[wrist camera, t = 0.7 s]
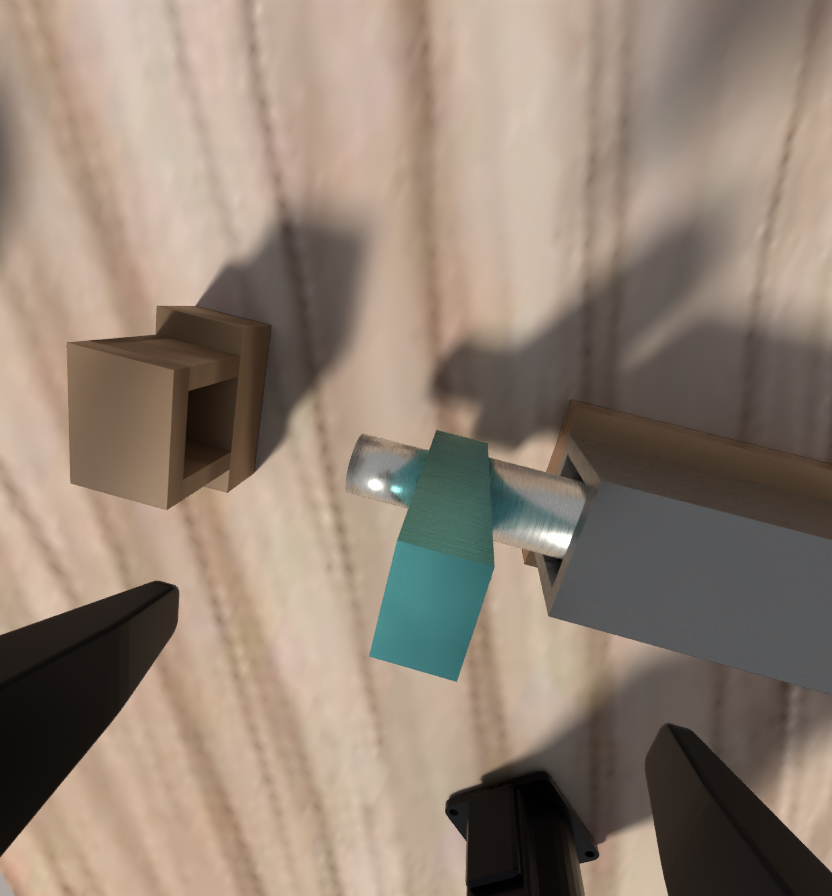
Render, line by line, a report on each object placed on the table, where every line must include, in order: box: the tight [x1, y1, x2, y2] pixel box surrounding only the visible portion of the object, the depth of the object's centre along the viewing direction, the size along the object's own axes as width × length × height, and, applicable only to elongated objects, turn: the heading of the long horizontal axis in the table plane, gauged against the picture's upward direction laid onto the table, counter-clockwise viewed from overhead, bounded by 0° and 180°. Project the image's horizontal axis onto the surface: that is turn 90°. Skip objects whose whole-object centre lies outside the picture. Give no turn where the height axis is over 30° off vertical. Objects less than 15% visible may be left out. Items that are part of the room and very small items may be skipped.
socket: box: [67, 306, 271, 510], centre depth 17 cm, size 4×7×6 cm, turn 167°
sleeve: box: [522, 400, 832, 695], centre depth 16 cm, size 12×7×6 cm, turn 77°
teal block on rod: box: [346, 430, 589, 682], centre depth 13 cm, size 18×3×9 cm, turn 77°
